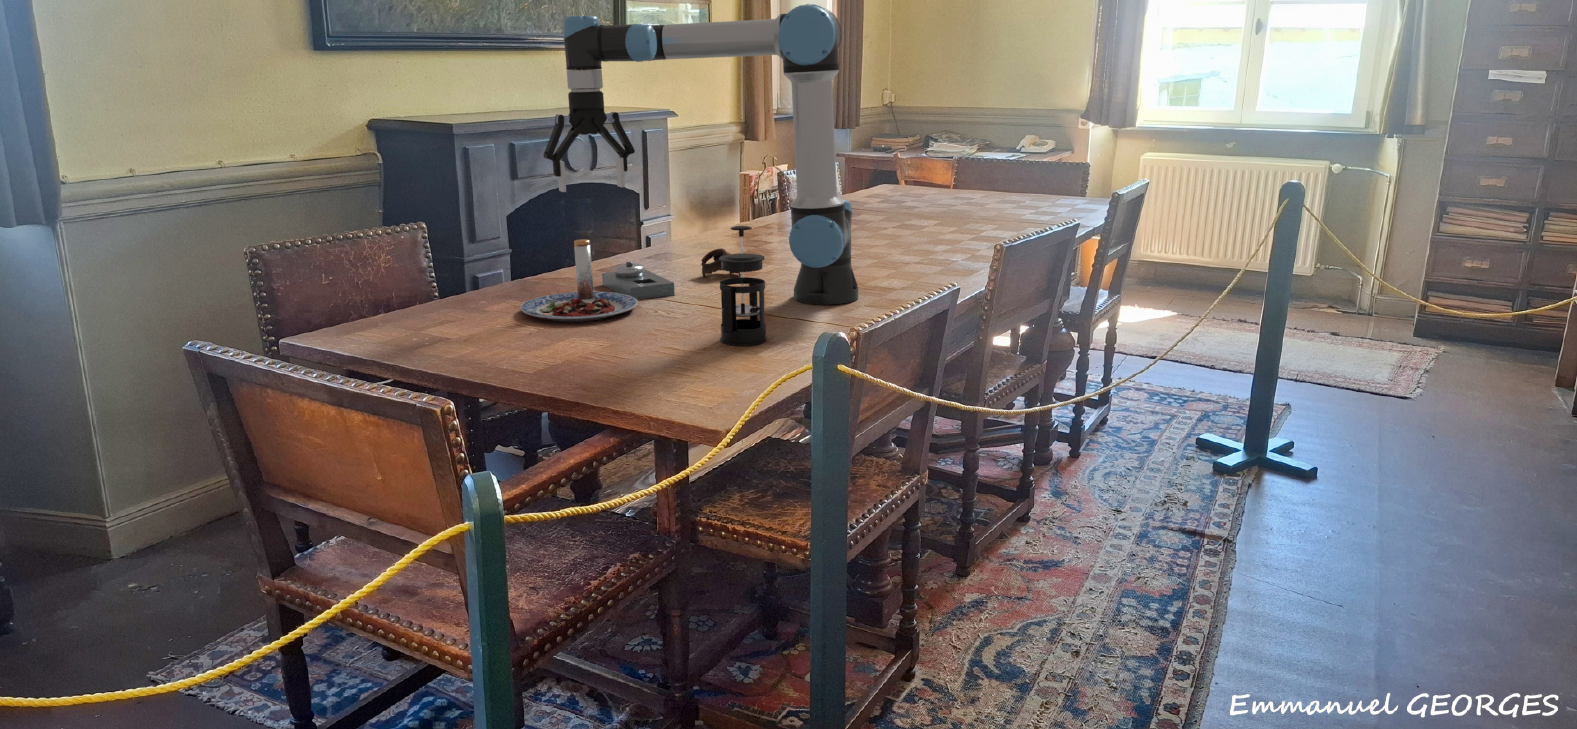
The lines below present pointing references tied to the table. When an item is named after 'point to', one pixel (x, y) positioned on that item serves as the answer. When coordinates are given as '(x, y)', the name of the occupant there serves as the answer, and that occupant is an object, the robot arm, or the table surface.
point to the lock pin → (583, 269)
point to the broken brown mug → (716, 264)
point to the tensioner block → (637, 282)
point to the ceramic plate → (579, 306)
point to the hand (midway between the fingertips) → (592, 189)
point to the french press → (742, 329)
